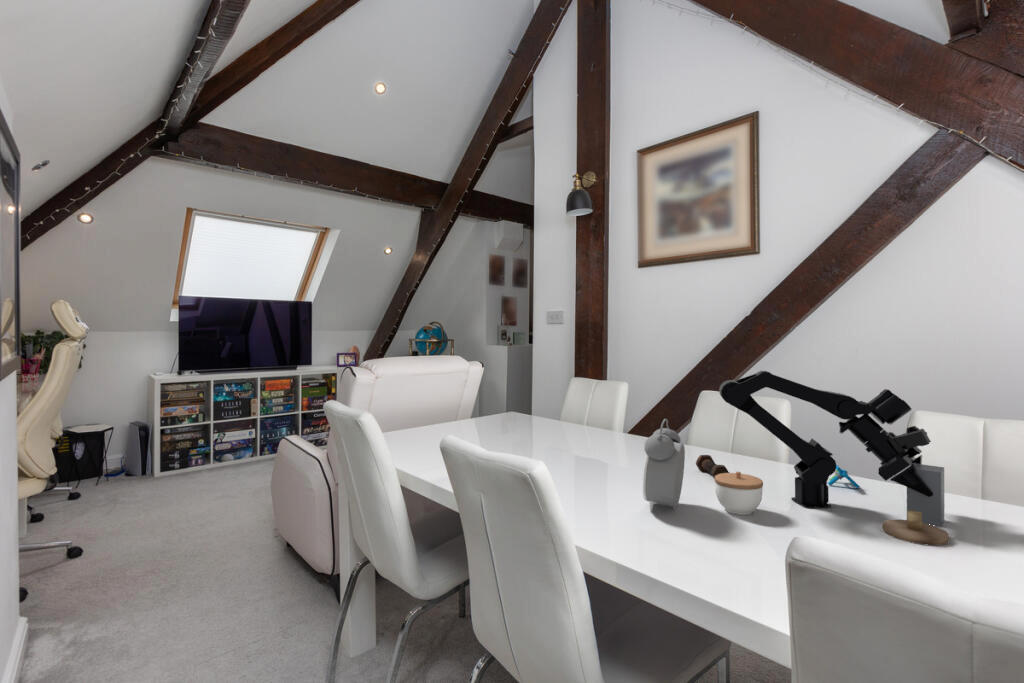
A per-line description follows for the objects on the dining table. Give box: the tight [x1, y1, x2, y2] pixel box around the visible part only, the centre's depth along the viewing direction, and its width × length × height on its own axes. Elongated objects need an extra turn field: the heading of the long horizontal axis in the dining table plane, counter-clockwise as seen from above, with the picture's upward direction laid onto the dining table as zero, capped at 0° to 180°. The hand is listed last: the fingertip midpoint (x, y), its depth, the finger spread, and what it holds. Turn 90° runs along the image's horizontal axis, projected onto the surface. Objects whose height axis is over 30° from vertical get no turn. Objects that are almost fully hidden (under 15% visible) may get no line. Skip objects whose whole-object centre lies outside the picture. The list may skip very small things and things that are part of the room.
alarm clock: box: [642, 418, 686, 512], centre depth 125 cm, size 16×9×22 cm, turn 154°
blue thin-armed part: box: [827, 464, 861, 489], centre depth 141 cm, size 11×6×10 cm
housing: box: [906, 463, 945, 528], centre depth 115 cm, size 6×6×12 cm
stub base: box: [881, 510, 950, 546], centre depth 107 cm, size 11×11×5 cm
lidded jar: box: [714, 471, 764, 516], centre depth 122 cm, size 11×11×9 cm
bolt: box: [695, 454, 731, 480], centre depth 152 cm, size 6×5×15 cm
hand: (933, 492), depth 114 cm, fingers closed on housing, 6 cm apart
